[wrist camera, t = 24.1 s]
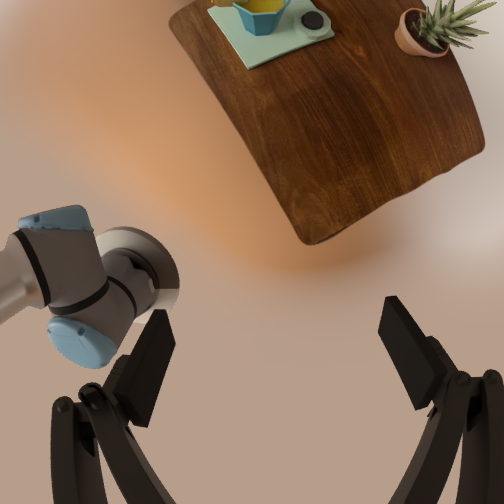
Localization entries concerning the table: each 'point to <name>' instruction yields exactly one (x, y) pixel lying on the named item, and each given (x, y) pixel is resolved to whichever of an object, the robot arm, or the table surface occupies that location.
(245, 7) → the cup
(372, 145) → the table surface
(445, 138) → the table surface
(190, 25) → the table surface
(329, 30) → the scale
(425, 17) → the potted plant
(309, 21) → the tare button
